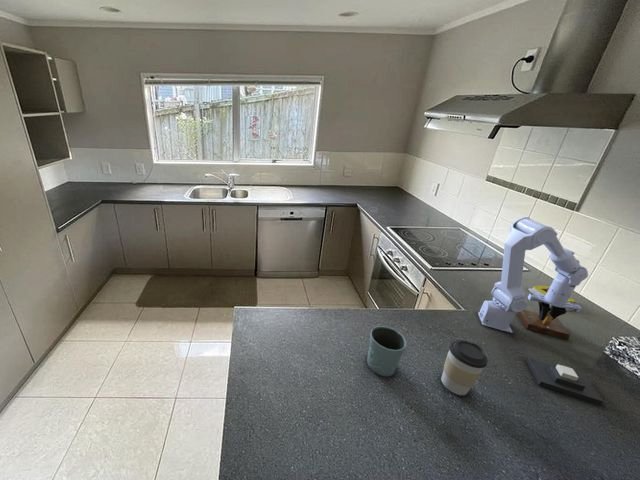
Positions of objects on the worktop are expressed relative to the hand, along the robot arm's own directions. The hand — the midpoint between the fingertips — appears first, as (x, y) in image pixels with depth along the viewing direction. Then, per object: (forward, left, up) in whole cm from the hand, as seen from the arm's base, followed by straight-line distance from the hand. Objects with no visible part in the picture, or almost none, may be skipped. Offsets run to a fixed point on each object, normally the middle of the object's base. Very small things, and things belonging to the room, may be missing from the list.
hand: (544, 319), depth 110 cm
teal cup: (-57, -50, -3) cm, 76 cm away
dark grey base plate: (-5, -30, -3) cm, 31 cm away
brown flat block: (0, 0, -3) cm, 3 cm away
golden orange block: (0, 0, -1) cm, 1 cm away
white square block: (-5, -30, 0) cm, 30 cm away
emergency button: (+12, +25, -3) cm, 28 cm away
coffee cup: (-36, -47, -3) cm, 59 cm away
